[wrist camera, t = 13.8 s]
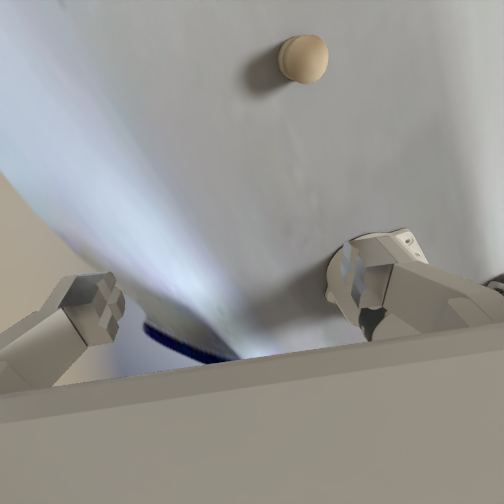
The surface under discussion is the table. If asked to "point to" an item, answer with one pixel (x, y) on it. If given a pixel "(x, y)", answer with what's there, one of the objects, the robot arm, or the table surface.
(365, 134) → the table surface
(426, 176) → the table surface
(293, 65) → the tan egg
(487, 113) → the table surface
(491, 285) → the robotic toy
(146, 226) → the table surface
